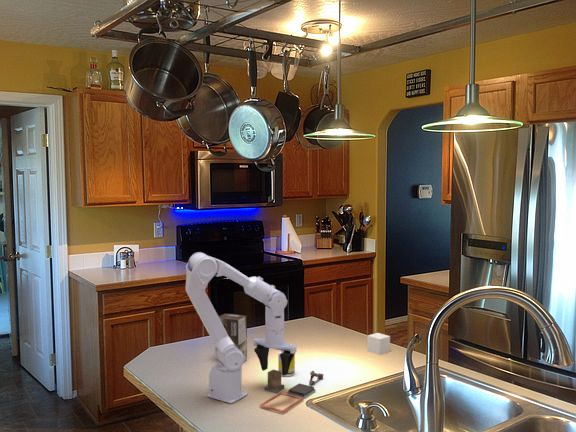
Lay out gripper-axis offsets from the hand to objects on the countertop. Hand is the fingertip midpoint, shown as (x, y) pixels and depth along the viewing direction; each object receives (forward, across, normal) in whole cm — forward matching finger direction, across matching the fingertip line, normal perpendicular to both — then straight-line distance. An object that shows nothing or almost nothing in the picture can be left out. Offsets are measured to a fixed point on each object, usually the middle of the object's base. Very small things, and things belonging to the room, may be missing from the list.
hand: (274, 372), depth 167 cm
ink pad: (+5, -8, -2) cm, 10 cm away
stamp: (+6, 0, 0) cm, 6 cm away
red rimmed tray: (+5, -8, +8) cm, 13 cm away
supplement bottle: (+6, +4, -13) cm, 15 cm away
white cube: (+6, -12, -52) cm, 54 cm away
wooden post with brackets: (+6, -8, -12) cm, 16 cm away
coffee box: (+6, +27, -13) cm, 31 cm away
